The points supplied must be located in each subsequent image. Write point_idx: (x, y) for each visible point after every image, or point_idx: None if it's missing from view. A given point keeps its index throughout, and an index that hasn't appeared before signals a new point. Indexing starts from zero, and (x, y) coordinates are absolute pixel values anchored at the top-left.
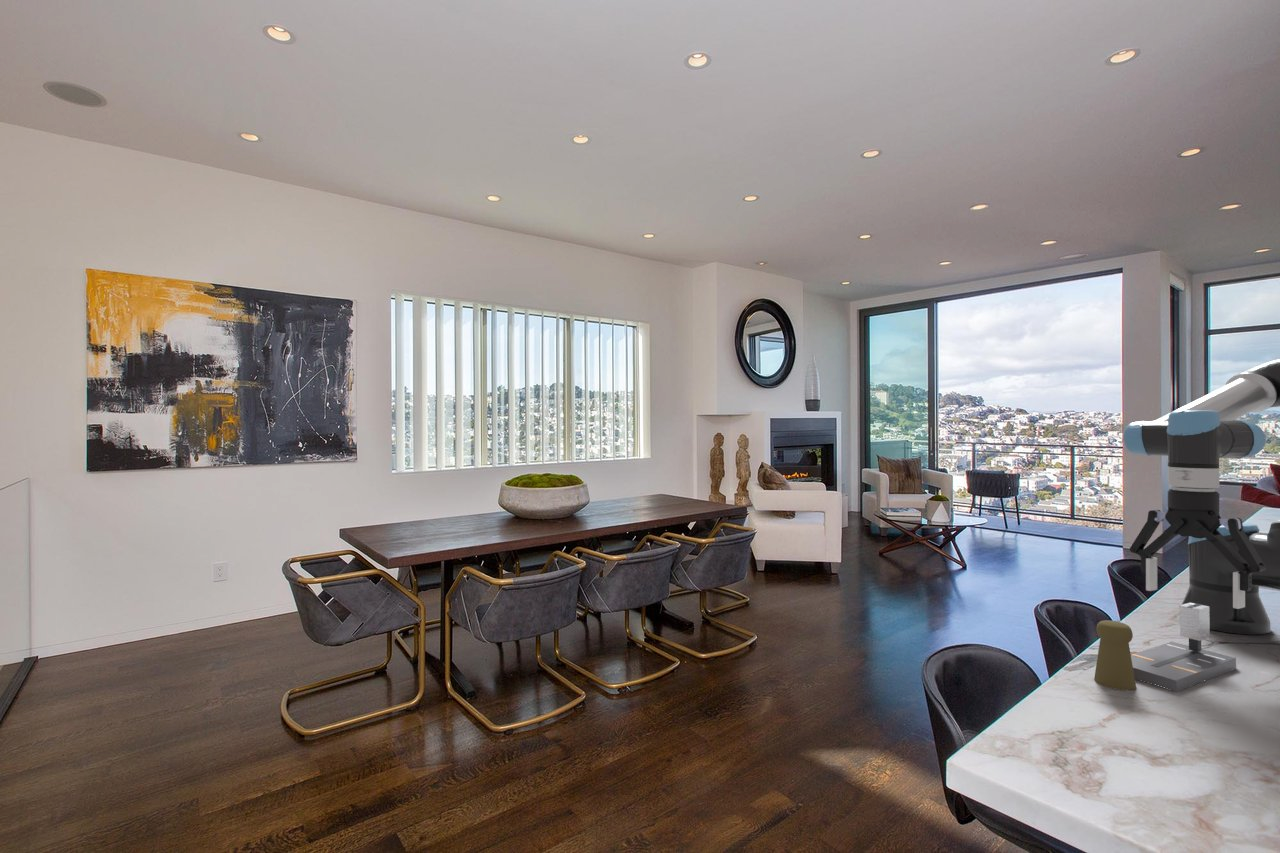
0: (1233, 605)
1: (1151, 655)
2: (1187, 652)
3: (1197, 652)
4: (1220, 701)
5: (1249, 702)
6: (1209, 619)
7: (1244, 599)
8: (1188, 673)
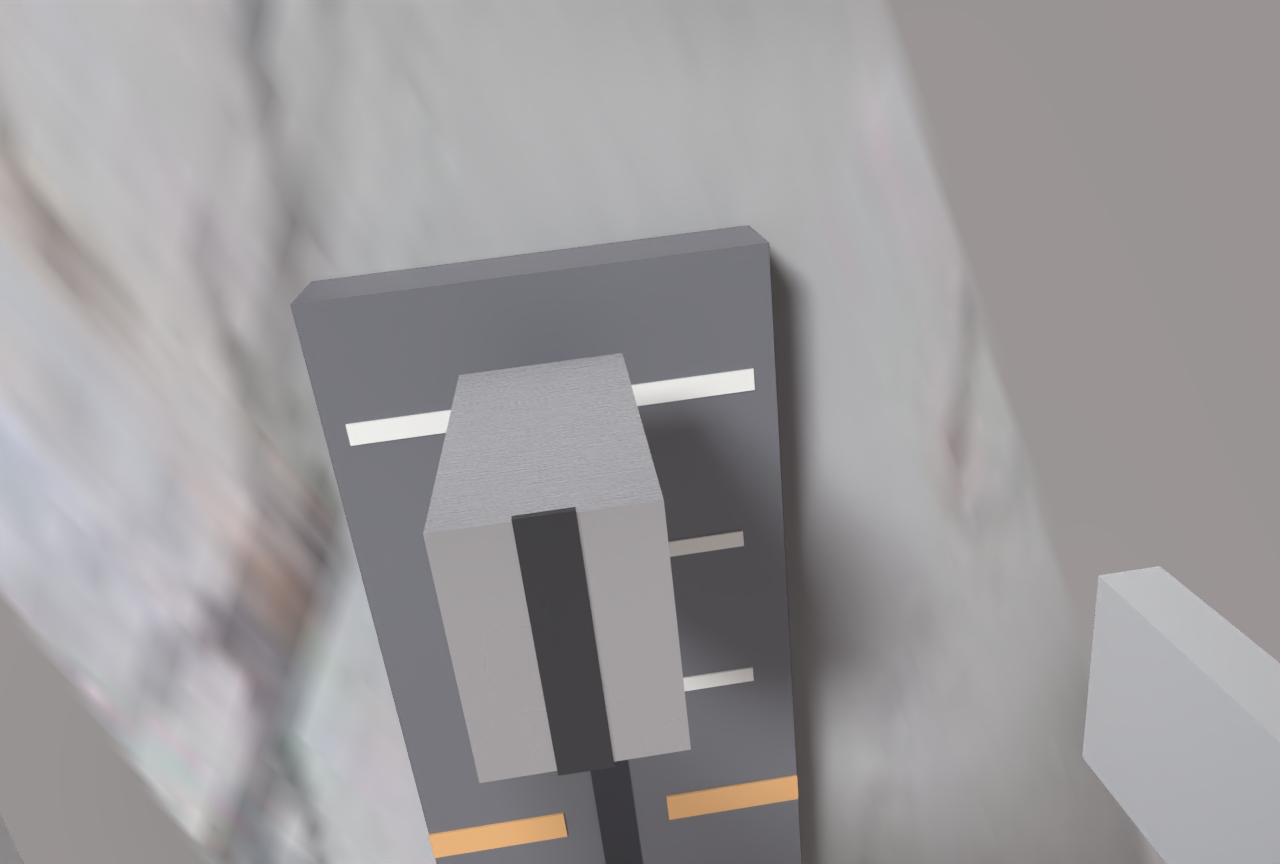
0: (1107, 779)
1: None
2: None
3: None
4: (945, 830)
5: (1024, 726)
6: (641, 422)
7: (1240, 650)
8: (781, 831)
